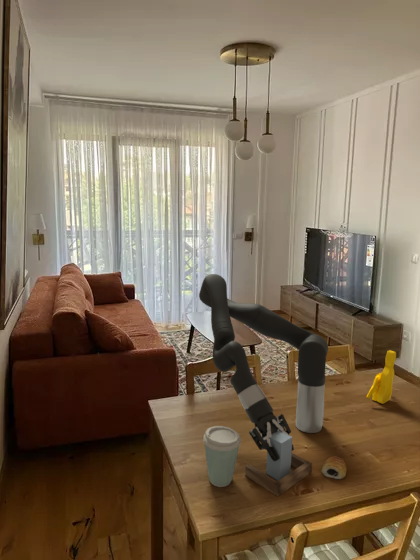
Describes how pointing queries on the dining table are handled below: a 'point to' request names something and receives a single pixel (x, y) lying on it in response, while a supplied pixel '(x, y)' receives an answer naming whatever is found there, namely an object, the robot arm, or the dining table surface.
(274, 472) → the slate block
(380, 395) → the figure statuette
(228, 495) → the dining table surface
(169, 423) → the dining table surface
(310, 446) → the dining table surface
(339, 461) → the pastry
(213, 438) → the disposable coffee cup
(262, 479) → the walnut bay
